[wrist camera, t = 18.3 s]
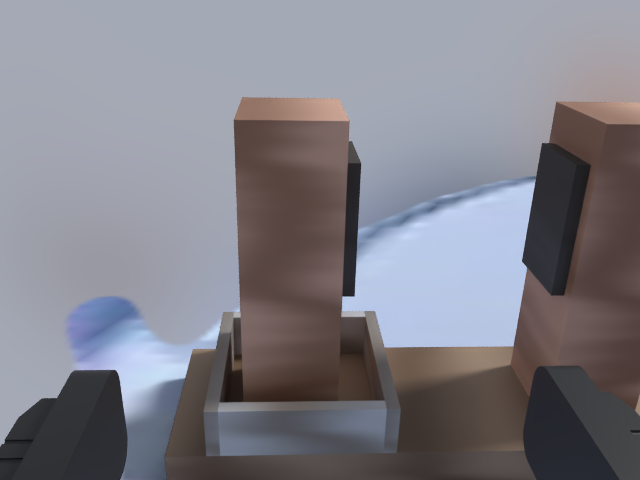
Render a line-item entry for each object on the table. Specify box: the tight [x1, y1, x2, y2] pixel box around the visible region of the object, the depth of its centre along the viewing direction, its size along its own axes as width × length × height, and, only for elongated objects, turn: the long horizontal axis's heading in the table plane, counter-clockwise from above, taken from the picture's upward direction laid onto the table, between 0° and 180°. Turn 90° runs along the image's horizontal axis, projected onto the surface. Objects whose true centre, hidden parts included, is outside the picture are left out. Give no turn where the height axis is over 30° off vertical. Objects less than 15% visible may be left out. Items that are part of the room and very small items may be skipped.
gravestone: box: [165, 102, 640, 480], centre depth 24 cm, size 21×7×14 cm, turn 93°
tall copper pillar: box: [234, 97, 361, 402], centre depth 23 cm, size 4×4×12 cm
